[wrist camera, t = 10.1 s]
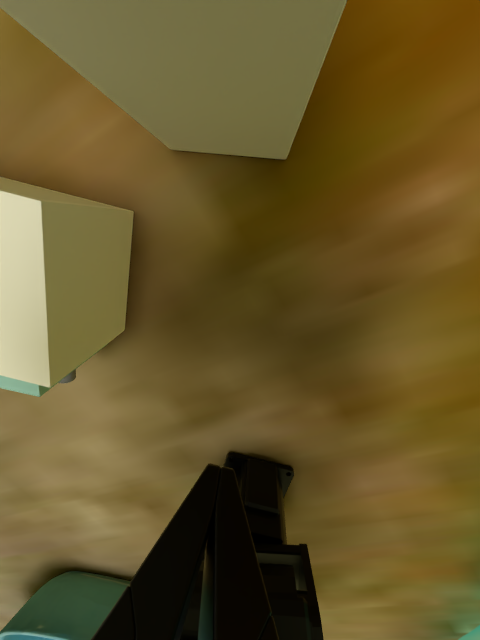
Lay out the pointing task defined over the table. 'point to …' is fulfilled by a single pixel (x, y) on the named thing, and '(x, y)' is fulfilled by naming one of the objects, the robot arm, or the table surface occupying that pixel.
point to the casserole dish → (66, 608)
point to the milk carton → (195, 63)
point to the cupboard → (59, 280)
